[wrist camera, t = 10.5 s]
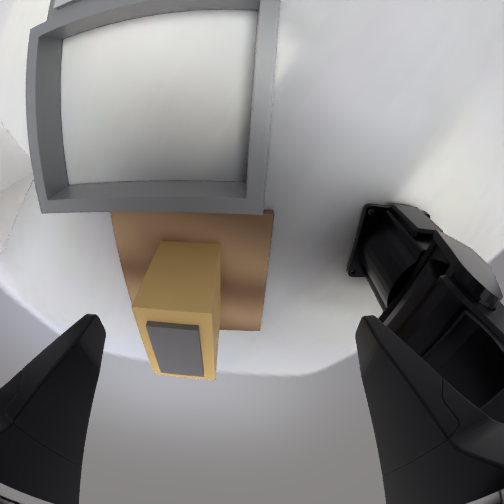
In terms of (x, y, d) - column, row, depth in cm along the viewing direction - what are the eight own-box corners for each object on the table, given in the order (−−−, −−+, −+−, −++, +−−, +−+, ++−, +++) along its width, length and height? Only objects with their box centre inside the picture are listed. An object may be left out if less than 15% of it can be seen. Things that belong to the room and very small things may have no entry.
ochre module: (220, 311, 24) (215, 384, 17) (170, 308, 23) (153, 378, 17) (220, 243, 20) (211, 318, 14) (161, 241, 20) (129, 312, 13)
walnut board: (259, 326, 26) (259, 330, 25) (139, 318, 25) (137, 323, 24) (273, 210, 19) (274, 214, 19) (113, 206, 18) (110, 210, 18)
